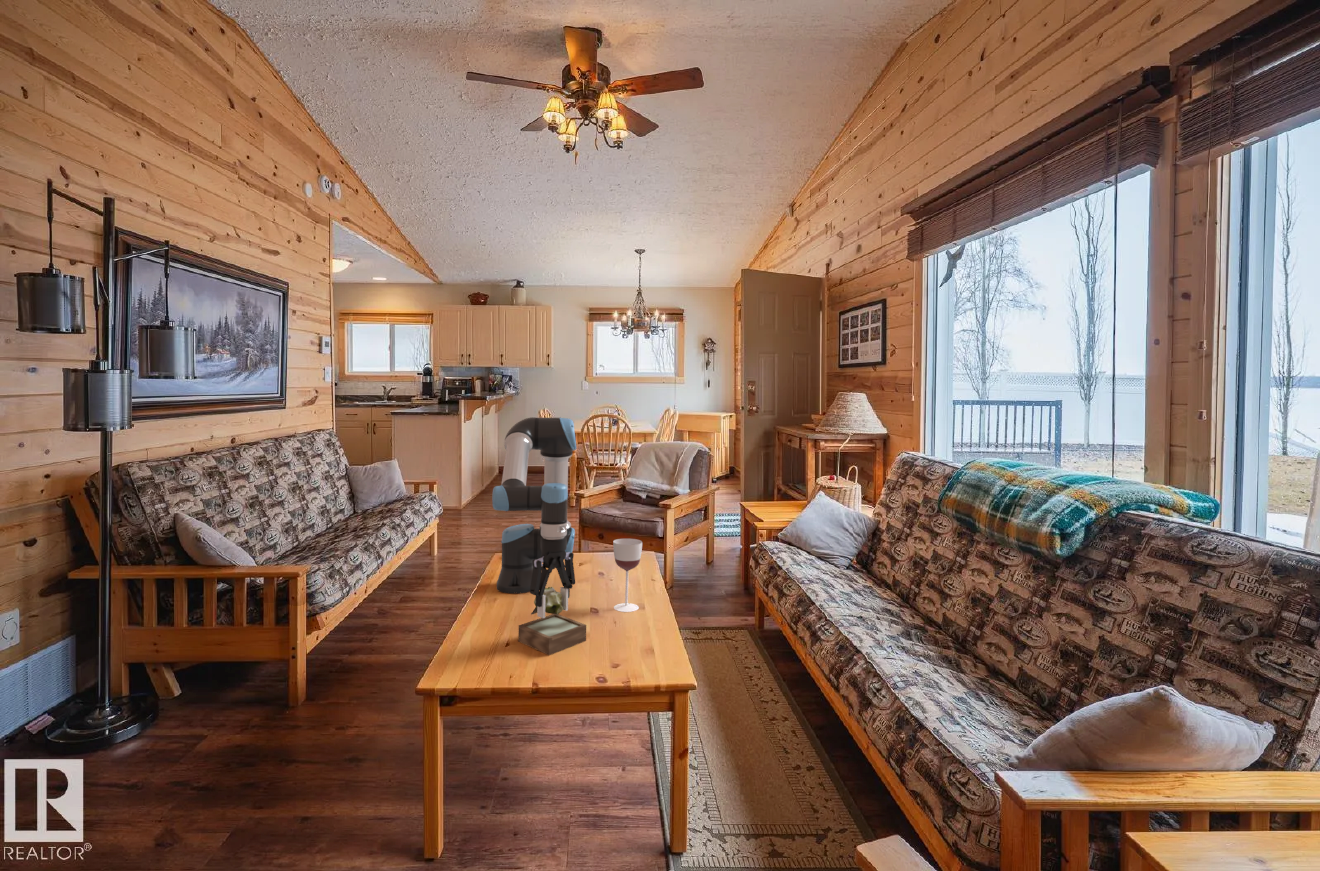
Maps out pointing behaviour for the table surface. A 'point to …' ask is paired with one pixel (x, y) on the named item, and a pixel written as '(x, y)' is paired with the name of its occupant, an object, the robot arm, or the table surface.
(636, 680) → the table surface
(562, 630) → the stand
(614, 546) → the wineglass
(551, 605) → the fruit
